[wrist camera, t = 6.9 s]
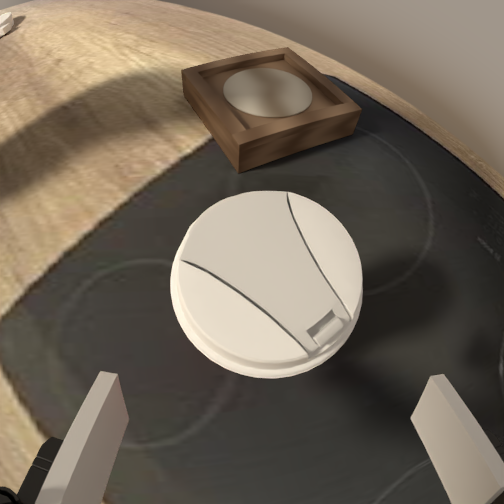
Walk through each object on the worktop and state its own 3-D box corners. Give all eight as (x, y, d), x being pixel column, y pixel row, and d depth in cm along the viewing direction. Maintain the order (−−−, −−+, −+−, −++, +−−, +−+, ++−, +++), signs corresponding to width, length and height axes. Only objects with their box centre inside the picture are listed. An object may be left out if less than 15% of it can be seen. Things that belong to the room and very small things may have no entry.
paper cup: (321, 347, 24) (410, 282, 11) (242, 409, 21) (254, 423, 9) (258, 273, 26) (281, 151, 14) (180, 327, 24) (125, 241, 11)
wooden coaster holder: (238, 173, 31) (239, 144, 27) (183, 95, 36) (181, 70, 33) (352, 134, 35) (362, 109, 31) (284, 70, 40) (287, 47, 37)
